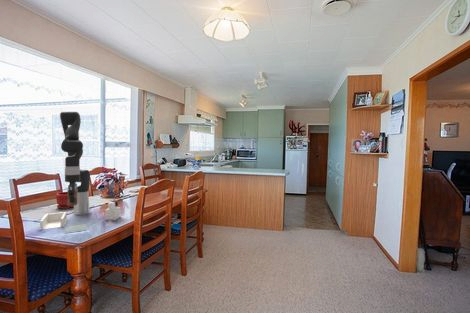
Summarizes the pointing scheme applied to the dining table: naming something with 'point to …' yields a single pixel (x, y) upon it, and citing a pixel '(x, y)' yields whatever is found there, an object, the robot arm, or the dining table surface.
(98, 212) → the dining table surface
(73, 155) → the robot arm
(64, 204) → the plant pot
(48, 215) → the cream curved tray
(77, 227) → the grey-green mat
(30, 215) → the dining table surface
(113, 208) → the medicine bottle
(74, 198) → the walnut block
